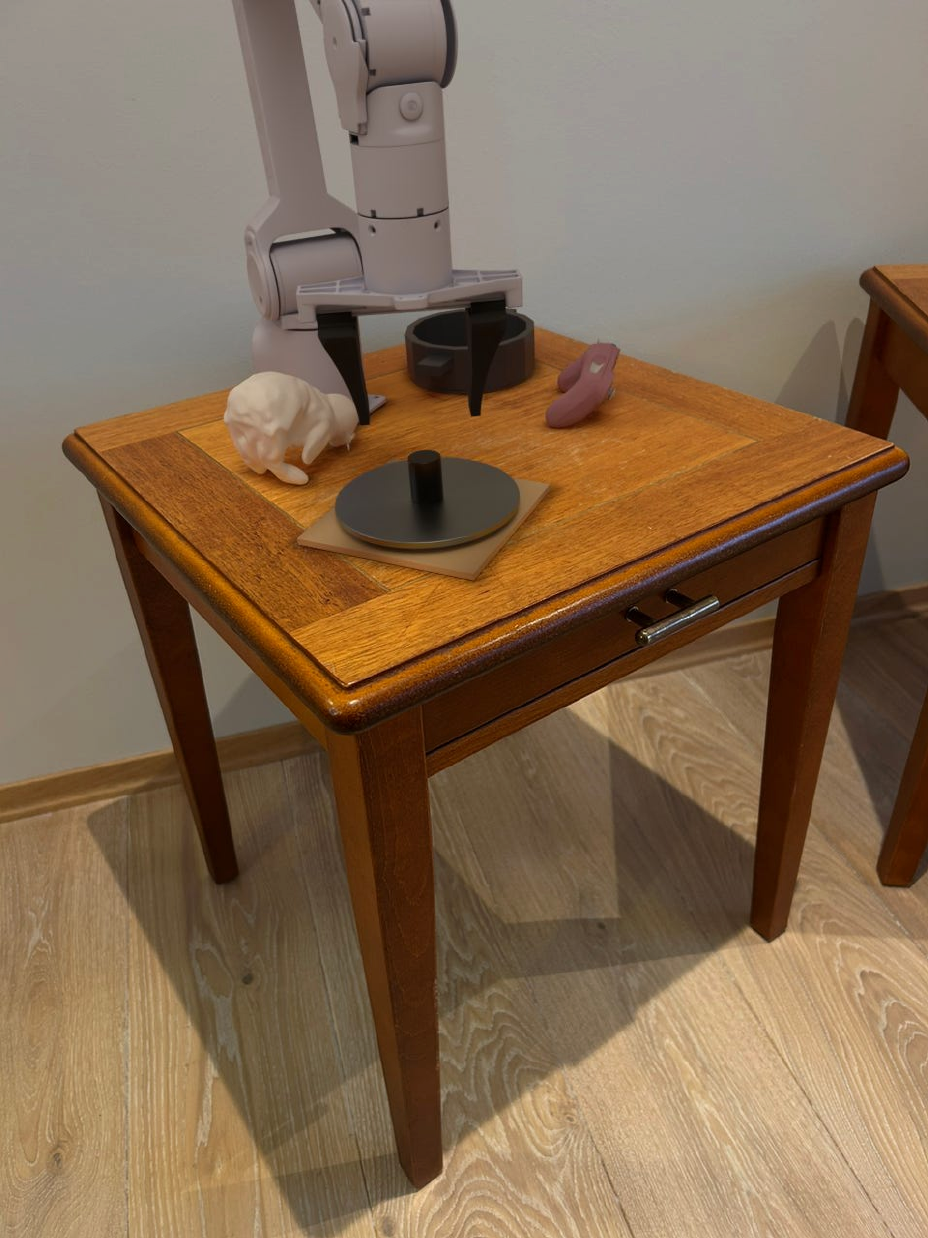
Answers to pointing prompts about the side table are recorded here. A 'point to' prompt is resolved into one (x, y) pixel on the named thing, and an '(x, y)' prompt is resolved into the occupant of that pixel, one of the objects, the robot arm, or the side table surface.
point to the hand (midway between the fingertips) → (419, 415)
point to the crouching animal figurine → (286, 422)
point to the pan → (466, 353)
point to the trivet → (442, 560)
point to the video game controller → (584, 385)
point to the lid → (427, 502)
